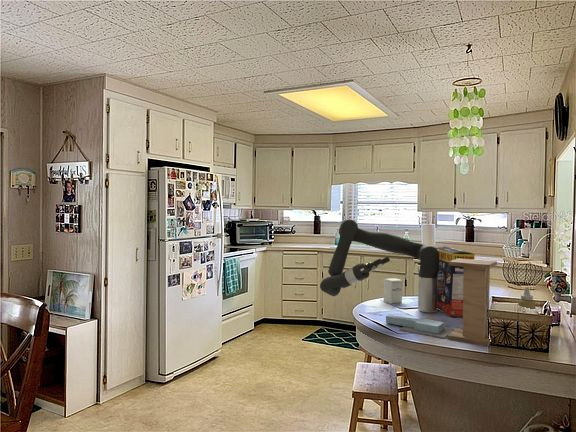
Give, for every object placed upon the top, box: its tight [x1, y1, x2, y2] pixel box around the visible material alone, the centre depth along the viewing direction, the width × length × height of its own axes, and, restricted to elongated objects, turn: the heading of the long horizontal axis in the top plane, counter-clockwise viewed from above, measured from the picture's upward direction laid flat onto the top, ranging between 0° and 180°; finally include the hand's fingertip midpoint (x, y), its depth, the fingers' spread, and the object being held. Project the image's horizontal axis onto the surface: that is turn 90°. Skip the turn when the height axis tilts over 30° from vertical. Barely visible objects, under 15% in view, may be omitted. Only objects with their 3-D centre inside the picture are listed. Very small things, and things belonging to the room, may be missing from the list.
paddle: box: [385, 314, 445, 334], centre depth 188 cm, size 8×24×3 cm, turn 53°
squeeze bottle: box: [517, 286, 537, 310], centre depth 188 cm, size 8×8×18 cm
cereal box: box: [435, 246, 476, 318], centre depth 218 cm, size 27×11×32 cm, turn 1°
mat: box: [398, 326, 456, 339], centre depth 184 cm, size 15×19×1 cm
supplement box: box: [383, 277, 403, 305], centre depth 239 cm, size 7×7×13 cm
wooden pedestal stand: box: [447, 258, 498, 347], centre depth 173 cm, size 14×15×31 cm
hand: (385, 259), depth 195 cm, fingers open, 8 cm apart
